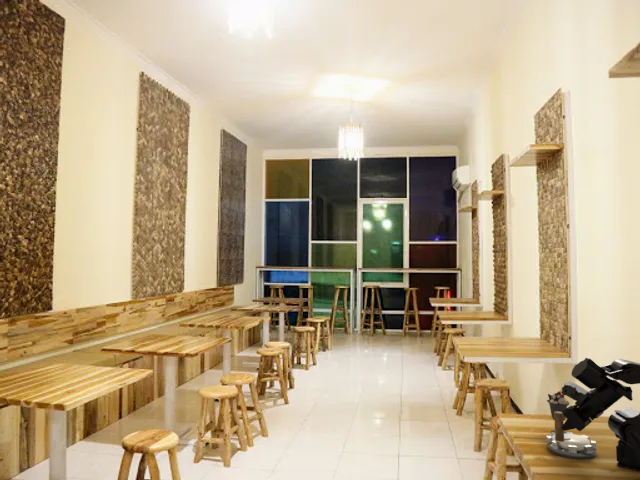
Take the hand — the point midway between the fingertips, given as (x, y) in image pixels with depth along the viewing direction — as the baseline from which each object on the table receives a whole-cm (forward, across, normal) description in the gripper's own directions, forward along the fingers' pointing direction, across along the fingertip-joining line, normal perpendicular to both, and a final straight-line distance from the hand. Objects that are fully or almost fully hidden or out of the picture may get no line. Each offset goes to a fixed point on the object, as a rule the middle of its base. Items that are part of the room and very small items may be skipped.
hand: (562, 429), depth 142 cm
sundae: (+10, -17, 0) cm, 20 cm away
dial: (+3, -4, +4) cm, 6 cm away
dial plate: (+4, -4, +5) cm, 8 cm away
